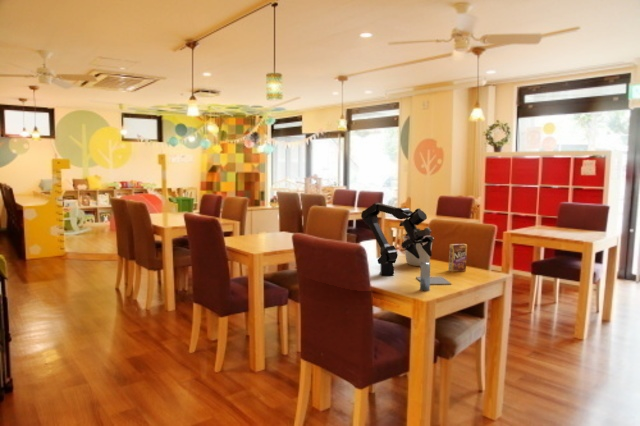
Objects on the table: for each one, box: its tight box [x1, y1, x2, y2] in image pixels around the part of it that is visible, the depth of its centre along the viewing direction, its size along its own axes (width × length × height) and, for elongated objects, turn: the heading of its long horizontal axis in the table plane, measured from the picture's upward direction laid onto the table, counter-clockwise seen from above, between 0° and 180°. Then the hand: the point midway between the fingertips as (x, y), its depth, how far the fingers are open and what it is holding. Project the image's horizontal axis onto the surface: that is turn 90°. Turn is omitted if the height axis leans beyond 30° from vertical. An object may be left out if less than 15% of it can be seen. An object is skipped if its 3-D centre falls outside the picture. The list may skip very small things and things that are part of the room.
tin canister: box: [419, 261, 431, 292], centre depth 210 cm, size 4×4×13 cm
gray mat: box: [415, 276, 452, 286], centre depth 227 cm, size 14×14×1 cm
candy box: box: [448, 243, 468, 272], centre depth 250 cm, size 9×4×15 cm, turn 103°
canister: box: [402, 234, 435, 267], centre depth 266 cm, size 18×18×21 cm
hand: (425, 257), depth 220 cm, fingers open, 9 cm apart
